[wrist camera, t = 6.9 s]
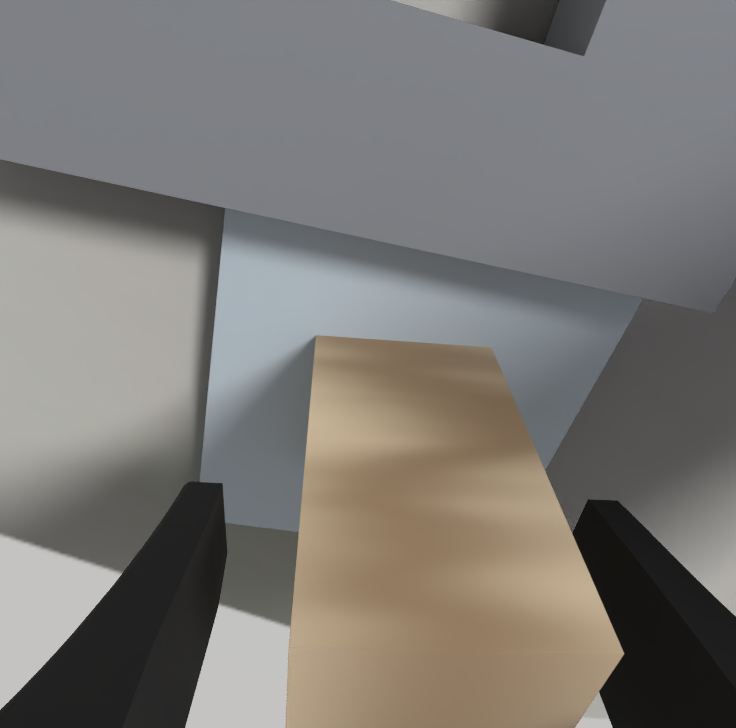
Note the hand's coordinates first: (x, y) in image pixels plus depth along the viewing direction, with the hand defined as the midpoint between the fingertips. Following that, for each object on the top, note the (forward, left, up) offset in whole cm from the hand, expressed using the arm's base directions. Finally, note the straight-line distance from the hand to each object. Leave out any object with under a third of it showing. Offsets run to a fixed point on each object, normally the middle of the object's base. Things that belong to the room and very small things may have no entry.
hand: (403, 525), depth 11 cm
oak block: (0, 0, -3) cm, 3 cm away
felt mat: (0, 0, -4) cm, 4 cm away
